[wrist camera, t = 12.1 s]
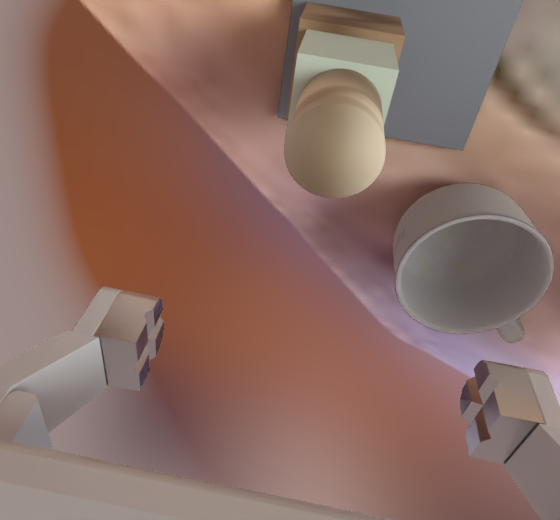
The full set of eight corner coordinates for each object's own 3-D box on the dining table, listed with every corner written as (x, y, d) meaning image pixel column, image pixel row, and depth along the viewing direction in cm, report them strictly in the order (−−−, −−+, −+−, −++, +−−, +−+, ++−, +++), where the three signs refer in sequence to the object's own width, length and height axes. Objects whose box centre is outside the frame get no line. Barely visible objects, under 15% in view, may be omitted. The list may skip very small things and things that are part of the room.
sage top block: (394, 43, 27) (399, 70, 23) (372, 127, 30) (373, 163, 26) (306, 28, 27) (297, 52, 23) (294, 113, 30) (284, 147, 26)
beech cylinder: (392, 76, 23) (398, 114, 19) (370, 158, 26) (371, 205, 22) (303, 61, 23) (291, 96, 19) (290, 144, 26) (278, 189, 22)
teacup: (370, 194, 40) (372, 251, 33) (507, 142, 35) (538, 196, 29) (425, 307, 46) (435, 373, 40) (545, 275, 42) (577, 342, 36)
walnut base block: (400, 17, 30) (405, 36, 27) (376, 108, 34) (377, 136, 30) (307, 1, 31) (299, 17, 27) (294, 93, 34) (285, 119, 30)
